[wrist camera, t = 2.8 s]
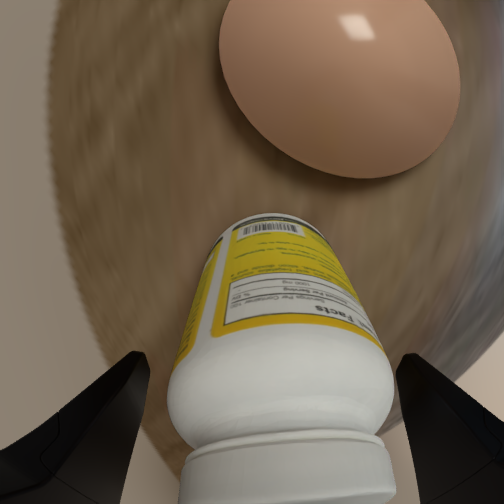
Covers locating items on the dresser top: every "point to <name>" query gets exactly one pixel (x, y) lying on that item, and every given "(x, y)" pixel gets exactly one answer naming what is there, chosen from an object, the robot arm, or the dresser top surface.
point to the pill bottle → (280, 376)
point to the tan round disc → (343, 80)
